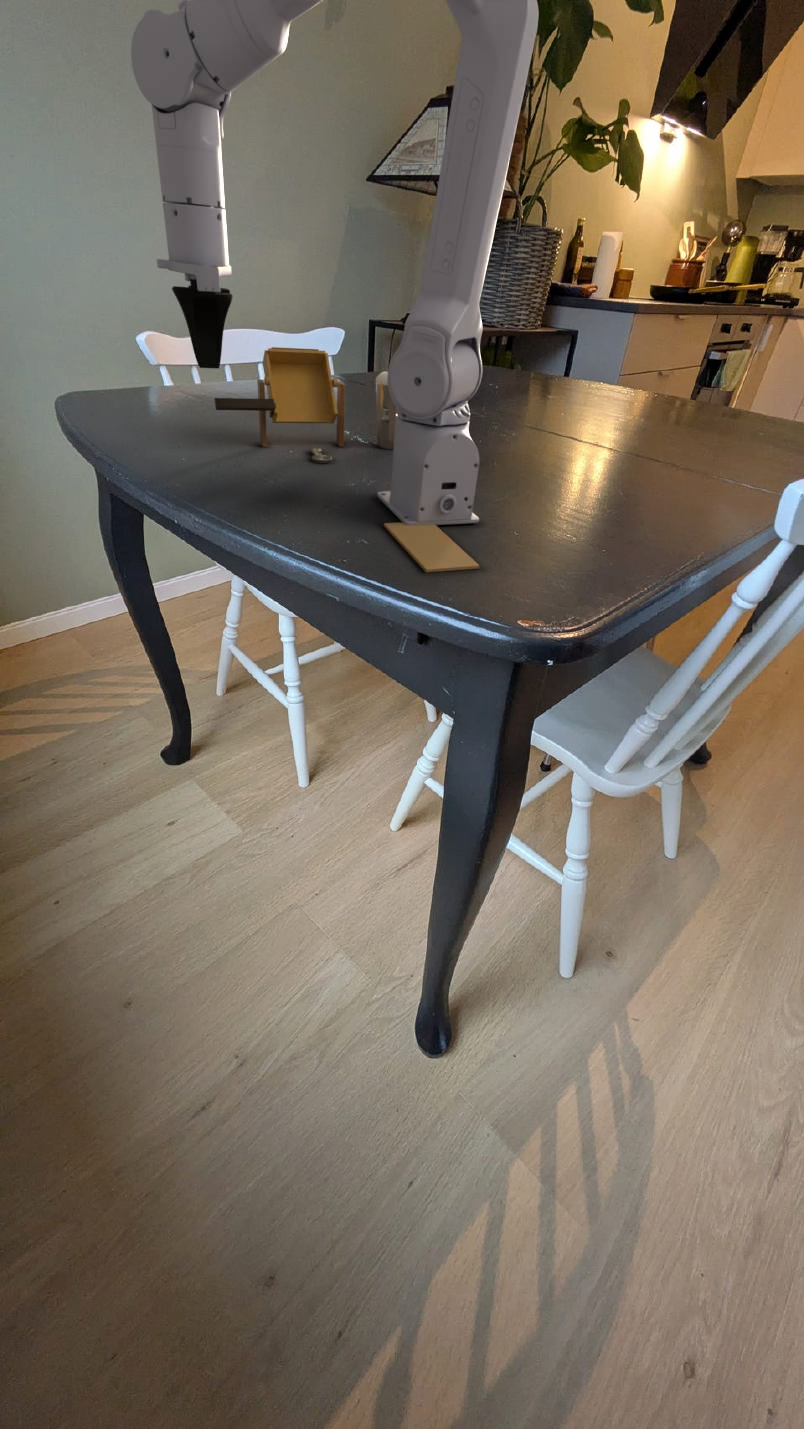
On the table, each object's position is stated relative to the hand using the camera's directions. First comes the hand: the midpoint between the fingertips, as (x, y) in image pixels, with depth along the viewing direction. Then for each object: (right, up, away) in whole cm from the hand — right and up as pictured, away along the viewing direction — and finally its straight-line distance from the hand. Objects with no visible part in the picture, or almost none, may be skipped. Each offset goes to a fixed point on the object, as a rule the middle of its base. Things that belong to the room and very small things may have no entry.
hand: (208, 367), depth 68 cm
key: (+10, -5, +11) cm, 16 cm away
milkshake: (+19, -1, +19) cm, 27 cm away
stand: (+8, -2, +15) cm, 17 cm away
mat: (+23, -22, -10) cm, 34 cm away
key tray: (+5, +4, +12) cm, 13 cm away
